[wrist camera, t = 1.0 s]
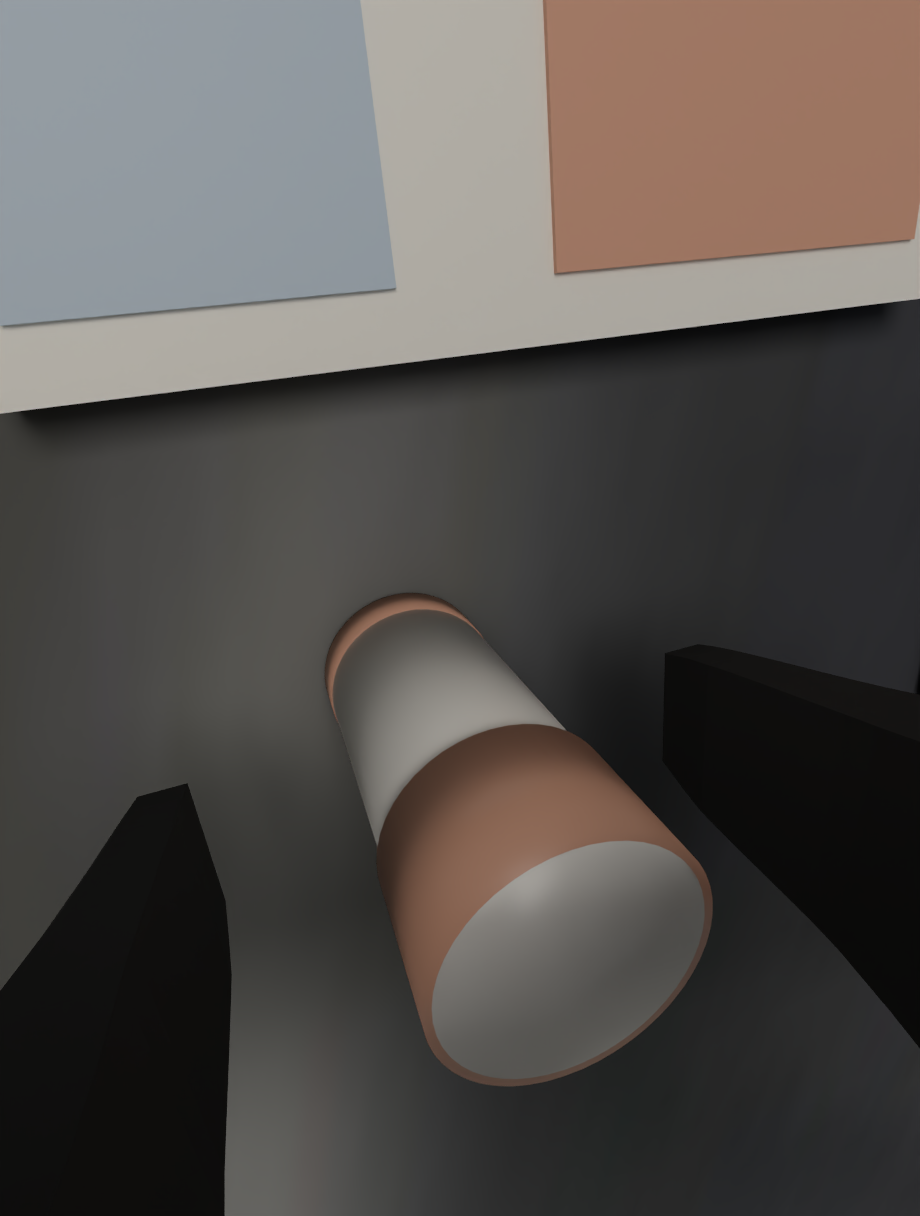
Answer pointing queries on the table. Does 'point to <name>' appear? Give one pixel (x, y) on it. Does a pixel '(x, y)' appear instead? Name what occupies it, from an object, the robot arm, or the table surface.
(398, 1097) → the table surface
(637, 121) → the board
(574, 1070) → the orange and grey cylinder
